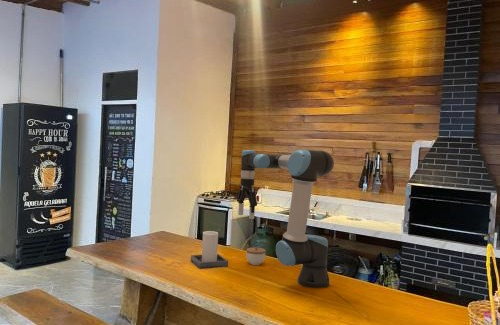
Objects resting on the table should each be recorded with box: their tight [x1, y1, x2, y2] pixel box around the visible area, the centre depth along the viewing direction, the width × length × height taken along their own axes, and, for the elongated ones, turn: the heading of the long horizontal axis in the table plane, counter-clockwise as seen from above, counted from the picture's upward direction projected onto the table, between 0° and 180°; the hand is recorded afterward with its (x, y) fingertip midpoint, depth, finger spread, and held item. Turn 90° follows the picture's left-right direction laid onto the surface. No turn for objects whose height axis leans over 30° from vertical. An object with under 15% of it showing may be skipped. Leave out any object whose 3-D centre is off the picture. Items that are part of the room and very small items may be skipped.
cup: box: [201, 230, 219, 262], centre depth 232 cm, size 8×8×16 cm
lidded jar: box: [245, 246, 266, 266], centre depth 237 cm, size 11×11×9 cm
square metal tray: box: [190, 253, 229, 270], centre depth 232 cm, size 16×16×3 cm
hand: (246, 217), depth 234 cm, fingers open, 13 cm apart
